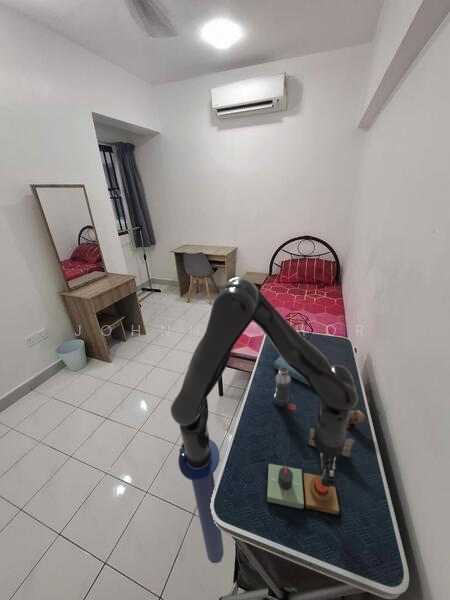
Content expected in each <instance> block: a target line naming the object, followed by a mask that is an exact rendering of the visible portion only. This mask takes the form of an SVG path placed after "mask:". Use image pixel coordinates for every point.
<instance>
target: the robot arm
mask: <svg viewBox="0 0 450 600" xmlns="http://www.w3.org/2000/svg"><path fill="white" fill-rule="evenodd" d="M252 322H253V323H254V324H256V325H257V327H259V328H260V330H261V331H262V332H263V333H264V334H265V335H266V337H267V338H268V340H269V341H270V343H271V345H272V346H273V348H274V350H275V351H276V352H277V353H278V355H279V357H280V356H281V357H282V358H283V360H284V361H285V362H286V363H287V364H288V365H290V366H291V367H292V368H293V369H294V370H296V371H297V372H298V373H299V374H300V375H302V376H303V377H304V378H305V379H306V380H307V381H308V383H309V384H310V386H309V387H311V388H312V390H313V391H314V392H315V393H316V395H317V396H318V397H319V398H320V402H319V406H318V412H317V418H316V419H315V426H314V429H315V432H314V443H315V446H316V449H317V454H318V455H319V456H320V457H319V458H320V468H321V470H322V475H321V476H322V485H324V486H327V487H330V486H333V487H335V488H336V481H337V477H338V469H336V460H337V457H339V456H340V455H342V451H343V448H344V444H345V440H346V438H347V434H348V428H347V425H348V421H349V410H350V411H353V410H354V409H355V408H356V406H357V405H358V401H359V400H358V399H359V398H358V392H357V389H356V385H355V380H354V378H353V374H352V373H351V372H350V370H349V369H347V367H345V366H343V365H340V364H332V365H330V362H329V360H328V358H327V357H326V356H325V354H324V353H322V352H321V351H320V350H319V349H318V348H316V347H315V346H314V345H313V344H312V343H310V341H308V340H307V339H306V338H305V337H303V335H301V334H300V333H299V332H298V331H297V329H295V328H294V327H293V326H292V325H291V324H290V323H289V322H288V321H287V319H285V318H284V317H283V315H281V313H280V312H279V311H278V310H277V308H276V307H274V306H273V304H272V303H271V302H270V301H269V300H268V299H267V297H266V296H265V295H264V294H263V293H262V291H260V289H259V288H258V287H257V286H256V285H255V284H254V283H253V282H252V281H250V280H249V279H247V278H244V277H234V278H231V279H229V280H228V281H227V282H225V284H224V285H223V286H222V288H221V289H220V290H219V292H218V293H217V294H216V295H215V298H214V300H213V304H212V306H211V309H210V315H209V317H208V321H207V326H206V329H205V332H204V335H203V336H202V338H201V339H200V340H199V342H198V343H197V346H196V348H195V350H194V351H193V354H192V357H191V359H190V361H189V364H188V366H187V370H186V373H185V375H184V379H183V381H182V382H183V383H182V385H181V388H180V391H179V393H178V394H177V395H176V397H174V400H173V402H171V406H170V415H171V417H172V419H173V420H174V422H175V423H176V424H178V425H179V431H180V436H181V441H182V443H181V447H180V448H179V454H180V456H181V457H184V462H185V463H187V464H188V466H189V467H190V468H191V469H193V470H201V469H204V468H205V467H206V466H207V465H208V464H209V463H210V461H211V457H212V454H211V448H210V441H209V439H210V435H209V434H210V433H209V426H208V421H209V402H208V397H209V395H210V394H211V392H212V391H213V390H214V388H215V387H216V385H217V384H218V382H219V380H220V379H221V377H222V376H223V374H224V372H225V370H226V368H227V365H228V363H229V361H230V358H231V355H232V352H233V348H234V347H235V345H236V344H237V342H238V341H239V339H240V338H241V336H242V335H243V334H244V332H245V331H246V330H247V328H248V327H249V326H250V324H251V323H252ZM315 446H314V447H315Z"/></svg>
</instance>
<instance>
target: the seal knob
mask: <svg viewBox="0 0 450 600" xmlns="http://www.w3.org/2000/svg"><path fill="white" fill-rule="evenodd" d="M287 467H288V466H285V467H283V468H281V469H280V470H279V478H278V483H279V485H280V487H281V488H282V489H284V490H289V489H290V488H291V487H292V481H293V473H292V471H291V470H290V469H289V468H287Z"/></svg>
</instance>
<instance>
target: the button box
mask: <svg viewBox="0 0 450 600" xmlns="http://www.w3.org/2000/svg"><path fill="white" fill-rule="evenodd" d="M318 479H322V475H316V474H313V473H306V472H303V473H302V483H303V496H304V507H305V509H310V510H313V511H319V512H322V513H327V514H328V513H329V514H333V515H337V516H339V513H340V507H339V502H338V496H337V490H336V486H335V487H333V486H330V487H328V490H327V493H326V494H325V495H321V494H319V493H318V492H317V491H316V489H315V483H316V481H317V480H318Z"/></svg>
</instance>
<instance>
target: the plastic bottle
mask: <svg viewBox="0 0 450 600" xmlns="http://www.w3.org/2000/svg"><path fill="white" fill-rule="evenodd" d="M291 383H292V377H291V376H289V375H288V369H287V368H286V367H281V368H280V369H279V370H278V373H277V374H276V376H275V393H274V395H273V402H274V403H275V405H277V406H278V407H279V408H285V407H287V406H288V405H289V402H290V396H289V393H290V387H291Z"/></svg>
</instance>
